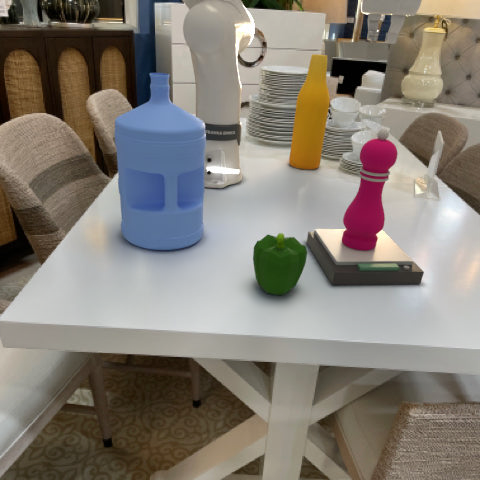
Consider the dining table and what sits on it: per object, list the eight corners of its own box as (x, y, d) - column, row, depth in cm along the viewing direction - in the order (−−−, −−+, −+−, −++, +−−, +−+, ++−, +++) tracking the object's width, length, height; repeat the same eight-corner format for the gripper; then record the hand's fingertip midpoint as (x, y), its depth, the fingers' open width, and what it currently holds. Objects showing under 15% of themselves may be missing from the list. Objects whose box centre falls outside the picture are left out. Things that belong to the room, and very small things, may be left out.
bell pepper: (267, 270, 82) (273, 215, 77) (308, 286, 79) (318, 229, 73) (239, 288, 76) (244, 230, 71) (283, 306, 73) (292, 246, 67)
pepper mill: (379, 254, 83) (409, 136, 72) (338, 248, 84) (361, 130, 73) (377, 238, 89) (405, 127, 78) (339, 233, 90) (361, 122, 79)
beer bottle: (321, 171, 137) (339, 57, 121) (289, 168, 137) (303, 55, 121) (317, 162, 145) (334, 55, 129) (287, 160, 145) (300, 52, 129)
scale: (332, 285, 79) (335, 268, 78) (306, 242, 93) (308, 227, 92) (420, 284, 82) (425, 267, 80) (382, 243, 96) (386, 228, 94)
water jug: (115, 223, 95) (102, 66, 80) (190, 217, 100) (191, 69, 85) (130, 256, 83) (119, 79, 68) (214, 247, 89) (221, 82, 73)
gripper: (361, -42, 95) (348, 37, 103) (405, -52, 78) (385, 44, 86) (391, -39, 96) (375, 39, 104) (440, -48, 79) (417, 46, 87)
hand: (380, 42), depth 95 cm, fingers open, 8 cm apart
